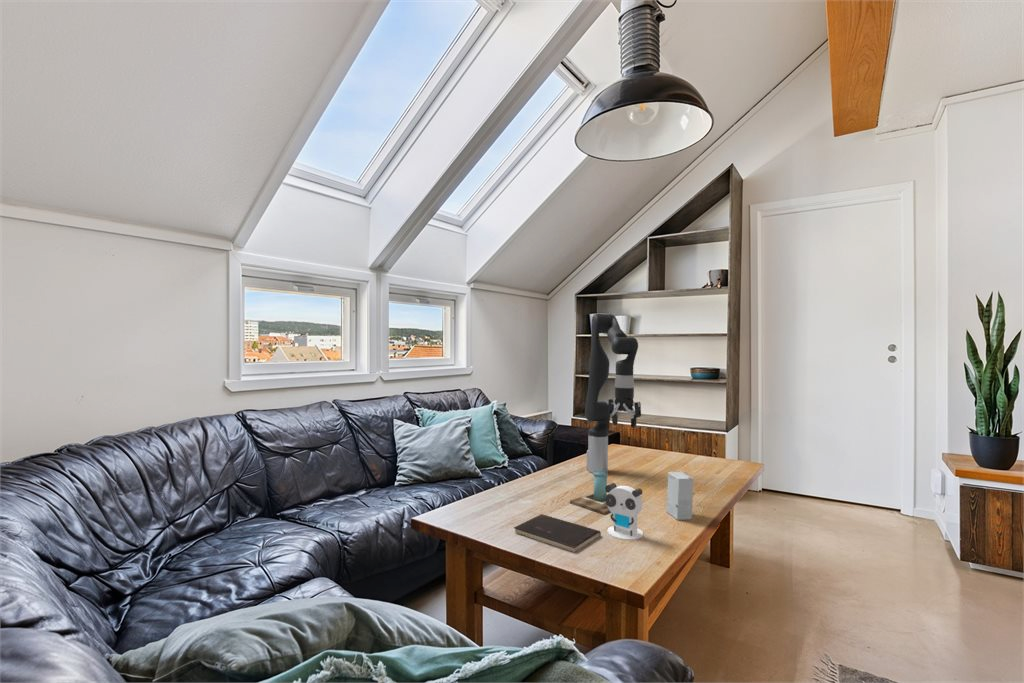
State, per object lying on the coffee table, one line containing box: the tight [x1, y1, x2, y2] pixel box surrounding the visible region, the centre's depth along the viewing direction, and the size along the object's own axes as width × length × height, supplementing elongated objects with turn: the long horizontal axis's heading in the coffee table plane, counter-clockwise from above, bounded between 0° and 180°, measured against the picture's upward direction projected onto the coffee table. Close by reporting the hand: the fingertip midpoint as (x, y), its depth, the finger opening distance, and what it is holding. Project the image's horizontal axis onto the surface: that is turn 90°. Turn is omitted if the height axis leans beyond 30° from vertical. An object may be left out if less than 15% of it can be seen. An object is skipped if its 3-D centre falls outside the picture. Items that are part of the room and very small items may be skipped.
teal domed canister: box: [592, 471, 609, 503], centre depth 182 cm, size 5×5×11 cm
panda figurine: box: [605, 482, 644, 541], centre depth 155 cm, size 12×11×15 cm
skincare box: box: [666, 471, 694, 521], centre depth 170 cm, size 8×6×15 cm
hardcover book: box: [513, 513, 602, 553], centre depth 154 cm, size 16×23×2 cm
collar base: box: [569, 492, 611, 515], centre depth 182 cm, size 16×16×2 cm
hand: (624, 426), depth 193 cm, fingers open, 8 cm apart
